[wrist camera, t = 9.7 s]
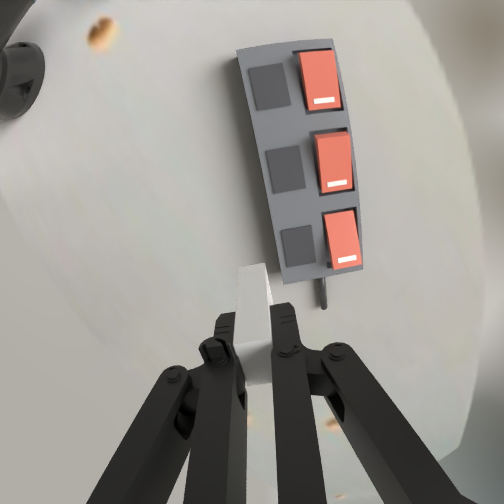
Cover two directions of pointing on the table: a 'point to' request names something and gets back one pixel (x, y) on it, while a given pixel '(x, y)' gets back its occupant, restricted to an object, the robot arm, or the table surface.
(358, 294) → the table surface
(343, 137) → the rocker
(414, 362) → the table surface
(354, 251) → the rocker
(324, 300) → the power strip
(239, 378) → the robot arm
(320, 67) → the rocker
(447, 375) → the table surface
